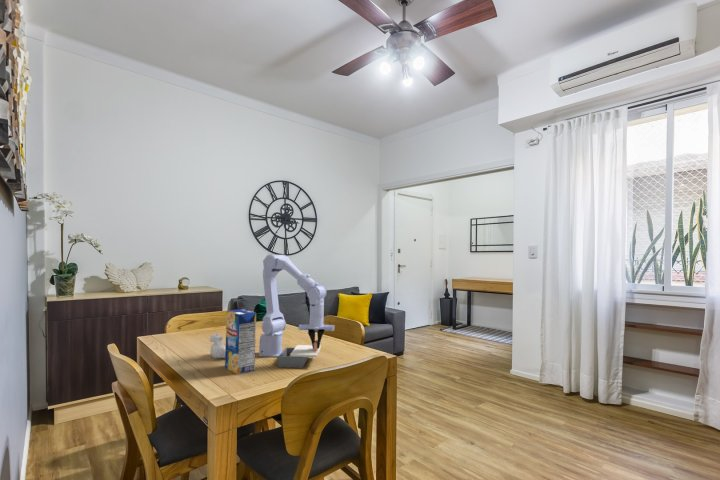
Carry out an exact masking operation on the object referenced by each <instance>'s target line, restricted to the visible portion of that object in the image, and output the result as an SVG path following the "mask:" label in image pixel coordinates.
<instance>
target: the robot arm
mask: <svg viewBox="0 0 720 480" xmlns="http://www.w3.org/2000/svg"><path fill="white" fill-rule="evenodd" d="M262 263H263V269H262V279H263V280H262V281H263V289H264V291H263V292H264V299H265V308H266V313H265V315H264V316H263V317H262V324H261V330H262V332H263V333H261V334H260V336H259V349H258V352H259V353H258V357H270V358H271V357H277V358H278V356H279V355H280V354H281V352H282V351H283V333H284V330H285V329H286V328H287V322H286V320H285V317H284V313H282V312H281V311H280V304H279V296H278V285H277V276H278V274H279V272H281V271H282V270H283V271H286V272H287V273H288V274H290V276H292V277H293V278H295V279H296V284H297V285H298V286H299V287H300V288H301V289H302V290H303V291H305V293H306V295H307V298H308V301H309V324H299V325H298V331H307V334H308V336H309V338H310V342H311V345H312V346H313V348H314V342H315V340H316V331H317V340H318V342H317V349H319V347H320V345H321V340H322V339H323V336H324V333H325V331H330V332H334V331H335V324H333V325H332V324H331V325H330V324H325V323H324V321H325V318H324V317H325V315H324V312H325V298H326V297H327V294H328V293H327V292H328V291H327V288H326V287H325V286H324V285H323V284H319V282H317V281H315V280H314V279H313V278H312V277H311V274H309V273H303V272H301V270H300V269H299V268H298V267H296V265H295V264H294V263H293V262H292V261H291V258H289V257H288V256H287V255H286V254H267V255H266V256H265V258H264V259H263V261H262Z"/></svg>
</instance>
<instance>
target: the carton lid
mask: <svg viewBox="0 0 720 480" xmlns="http://www.w3.org/2000/svg"><path fill="white" fill-rule="evenodd" d="M317 342H318V339H315V342H314V348H313V346H312V344H296V346H295V347H294V348H295V349H294V350H293V351H292V353H291V354H290V356H293V357H308V358H317V357H318V355H319V352H321V351H320V350H321V348H322V345H321V344H320V347H319V349H317Z"/></svg>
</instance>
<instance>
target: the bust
mask: <svg viewBox="0 0 720 480" xmlns="http://www.w3.org/2000/svg"><path fill="white" fill-rule="evenodd" d="M223 339H224V337H223V336H222V335H220V334H219V333H214V334H211V335H210V338H209V342H211V343H212V345H211V346H210V350H209V351H210V355H211V356H212V357H213V358H214V359H225V351H226V343H225V344H224V343H223V342H222V341H223Z"/></svg>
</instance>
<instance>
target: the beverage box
mask: <svg viewBox="0 0 720 480" xmlns="http://www.w3.org/2000/svg"><path fill="white" fill-rule="evenodd" d="M225 320H226V321H225V347H226V351H225V358H224V359H225V360H224V367H225V369H227V370H229V371H231V372H233V373H235V374H236V375H241V374H244V373H249V372H254V371H256V370H255V366H256V365H255V364H256V363H255V362H256V330H257V328H256V326H257V325H256V323H257V312H255V311H252V310H248V309H245V308H240V309H230V310H226V319H225Z"/></svg>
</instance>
